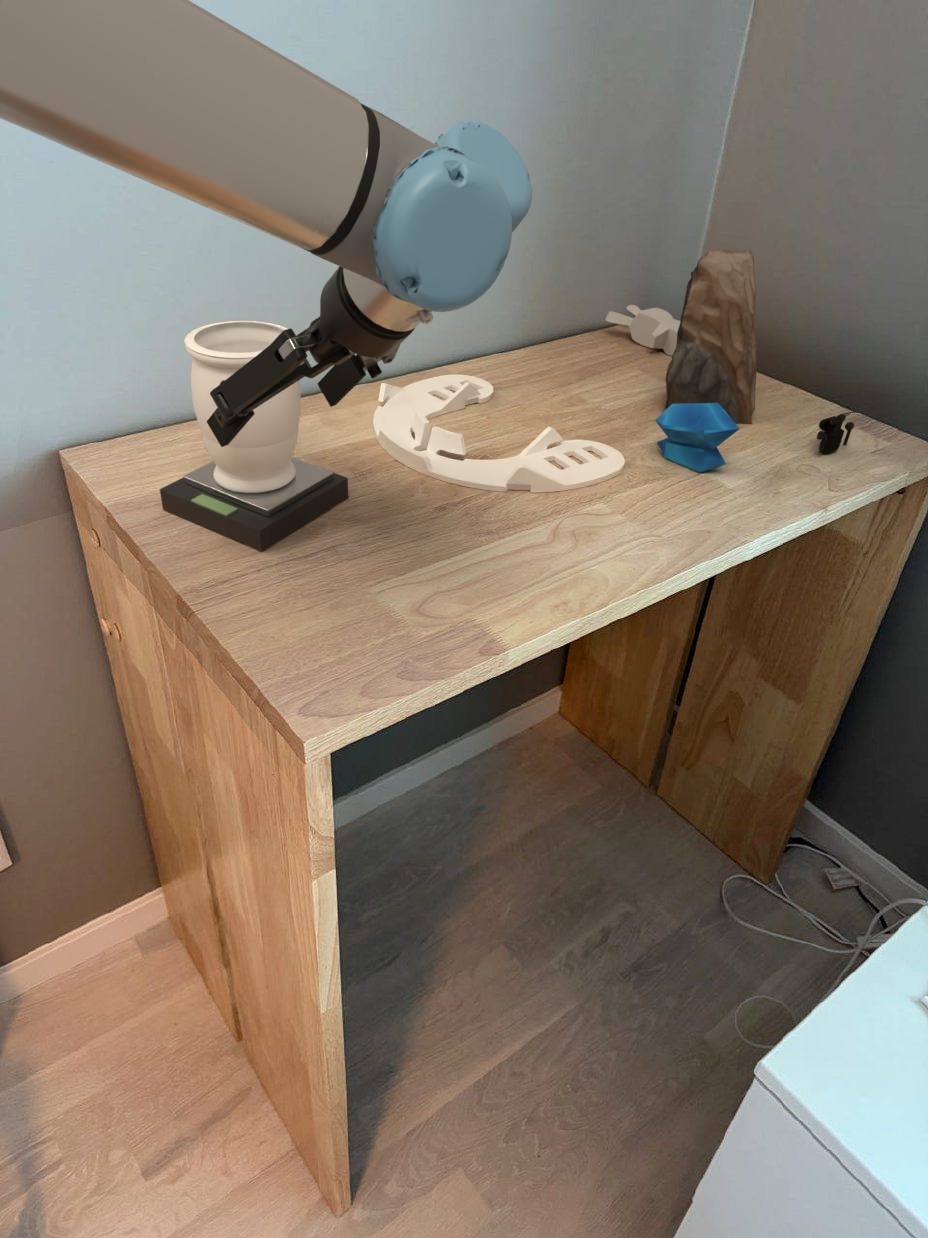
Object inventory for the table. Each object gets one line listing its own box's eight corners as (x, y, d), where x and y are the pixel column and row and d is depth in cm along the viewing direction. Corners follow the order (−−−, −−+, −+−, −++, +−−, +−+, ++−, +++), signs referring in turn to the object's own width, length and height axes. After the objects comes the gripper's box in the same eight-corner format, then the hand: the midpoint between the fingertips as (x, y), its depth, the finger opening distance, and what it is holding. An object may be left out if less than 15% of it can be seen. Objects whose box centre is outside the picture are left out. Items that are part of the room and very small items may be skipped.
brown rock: (660, 419, 119) (690, 266, 107) (649, 383, 129) (675, 240, 118) (753, 425, 119) (794, 272, 107) (734, 389, 129) (769, 246, 117)
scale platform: (183, 482, 93) (182, 475, 93) (251, 448, 101) (250, 441, 100) (268, 517, 89) (268, 510, 88) (333, 478, 96) (333, 472, 95)
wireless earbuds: (814, 460, 112) (826, 423, 109) (799, 452, 113) (810, 415, 110) (849, 448, 115) (861, 412, 112) (833, 441, 116) (845, 405, 113)
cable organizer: (640, 467, 107) (645, 442, 105) (488, 522, 95) (491, 494, 93) (464, 374, 129) (465, 351, 127) (322, 409, 116) (320, 384, 114)
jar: (208, 505, 88) (188, 359, 79) (199, 459, 96) (180, 322, 87) (313, 493, 91) (305, 352, 82) (296, 450, 99) (287, 316, 90)
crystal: (668, 388, 110) (759, 394, 103) (669, 454, 114) (756, 465, 107) (636, 403, 106) (729, 412, 98) (638, 472, 110) (727, 485, 102)
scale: (163, 509, 94) (159, 487, 92) (254, 462, 103) (252, 441, 102) (261, 552, 88) (259, 529, 86) (348, 497, 98) (348, 476, 96)
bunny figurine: (679, 338, 134) (604, 301, 141) (670, 369, 137) (596, 332, 145) (713, 326, 140) (638, 291, 147) (703, 356, 143) (631, 320, 150)
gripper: (283, 374, 62) (186, 488, 79) (503, 303, 78) (384, 411, 94) (229, 279, 62) (142, 414, 78) (461, 227, 77) (348, 349, 94)
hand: (274, 413), depth 86 cm, fingers open, 13 cm apart
